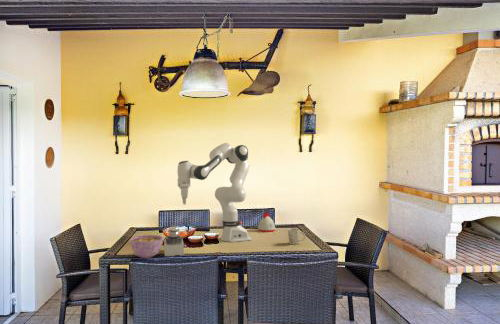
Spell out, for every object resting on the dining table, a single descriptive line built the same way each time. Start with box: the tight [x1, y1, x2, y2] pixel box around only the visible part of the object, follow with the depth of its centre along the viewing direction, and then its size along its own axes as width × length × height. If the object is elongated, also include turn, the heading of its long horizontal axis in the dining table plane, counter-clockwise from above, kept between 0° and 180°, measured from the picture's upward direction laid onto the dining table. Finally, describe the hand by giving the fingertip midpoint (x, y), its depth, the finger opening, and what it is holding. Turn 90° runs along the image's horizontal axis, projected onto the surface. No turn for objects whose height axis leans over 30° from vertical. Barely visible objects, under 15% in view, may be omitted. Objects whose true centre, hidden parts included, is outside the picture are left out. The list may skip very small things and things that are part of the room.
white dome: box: [257, 211, 276, 233], centre depth 345 cm, size 14×14×15 cm
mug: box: [287, 227, 307, 245], centre depth 299 cm, size 8×13×10 cm, turn 91°
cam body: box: [163, 235, 185, 257], centre depth 276 cm, size 12×18×10 cm
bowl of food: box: [130, 234, 164, 259], centre depth 266 cm, size 20×20×12 cm
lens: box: [168, 226, 179, 239], centre depth 278 cm, size 6×6×9 cm
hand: (184, 203), depth 297 cm, fingers open, 8 cm apart
